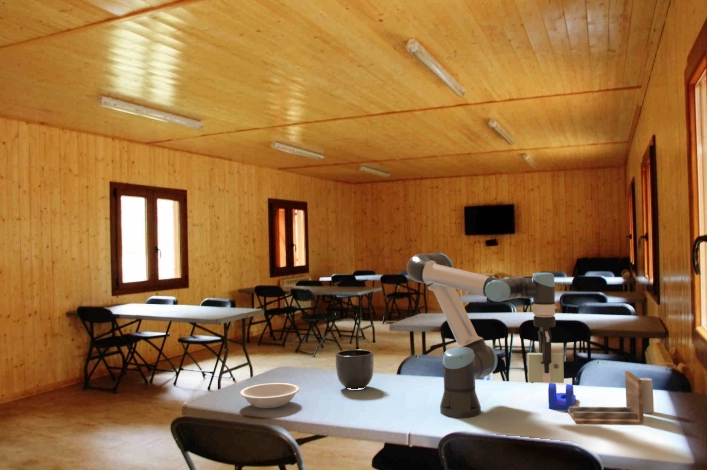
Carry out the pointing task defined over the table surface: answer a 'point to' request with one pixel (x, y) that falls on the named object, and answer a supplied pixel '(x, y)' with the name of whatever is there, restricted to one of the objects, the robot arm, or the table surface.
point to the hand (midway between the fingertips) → (545, 380)
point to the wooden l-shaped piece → (614, 414)
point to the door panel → (536, 367)
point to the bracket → (561, 397)
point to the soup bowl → (269, 394)
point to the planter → (354, 367)
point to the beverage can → (647, 395)
